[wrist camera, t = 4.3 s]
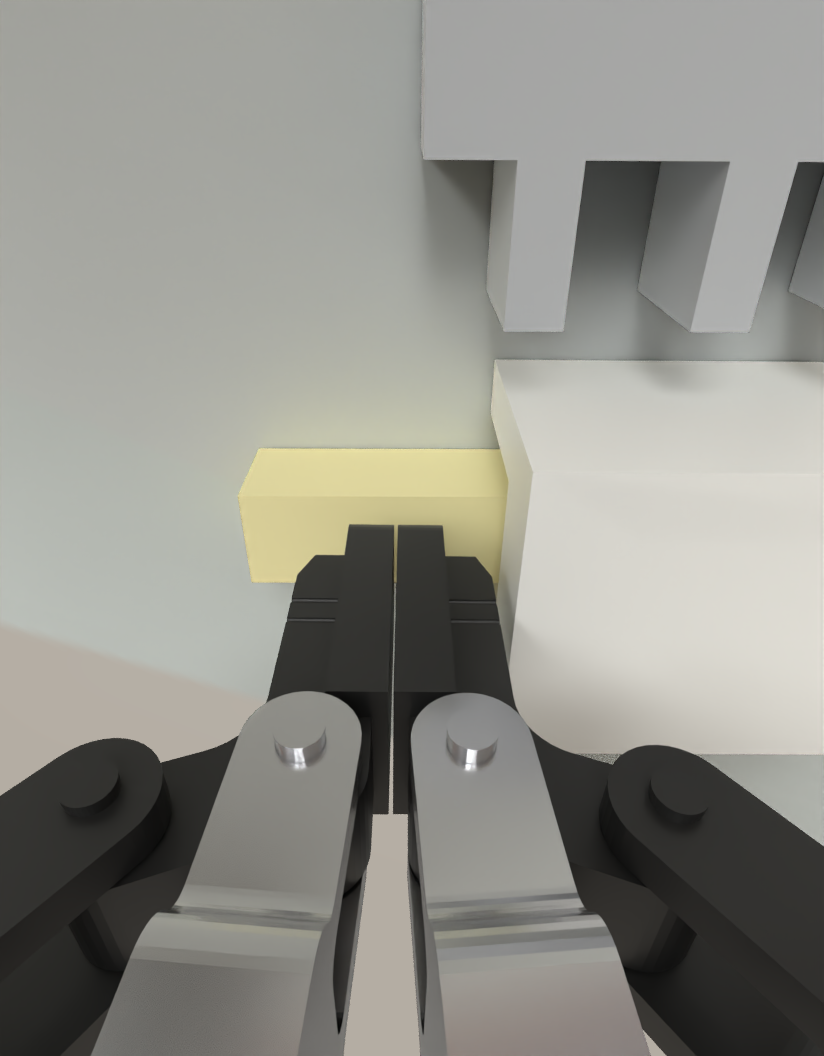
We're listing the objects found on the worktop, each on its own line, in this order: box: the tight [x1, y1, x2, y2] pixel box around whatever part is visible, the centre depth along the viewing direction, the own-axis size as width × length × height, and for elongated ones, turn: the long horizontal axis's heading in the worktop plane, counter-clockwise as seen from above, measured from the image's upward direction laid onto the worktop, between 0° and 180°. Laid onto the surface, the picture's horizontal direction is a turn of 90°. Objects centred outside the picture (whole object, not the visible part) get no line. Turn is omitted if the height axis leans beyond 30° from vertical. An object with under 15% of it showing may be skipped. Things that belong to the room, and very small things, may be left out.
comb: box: [421, 0, 824, 333], centre depth 9 cm, size 4×8×2 cm, turn 90°
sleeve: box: [491, 359, 824, 755], centre depth 11 cm, size 5×8×4 cm, turn 90°
